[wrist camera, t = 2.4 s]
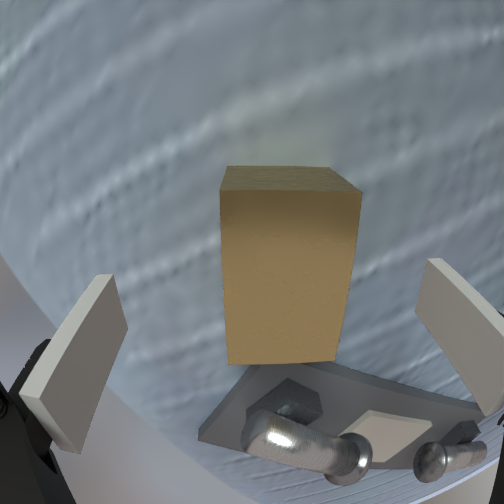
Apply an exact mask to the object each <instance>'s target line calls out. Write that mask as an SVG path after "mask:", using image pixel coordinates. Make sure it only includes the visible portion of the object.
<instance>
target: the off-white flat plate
mask: <svg viewBox="0 0 504 504" xmlns="http://www.w3.org/2000/svg"><path fill="white" fill-rule="evenodd" d="M431 426H433V425H432V423H431V421H427V420H421V419H415V418H409V417H403V416H398V415H392V414H387V413H382V412H377V411H372V410H368V411H367V412H366V413H364V414H363V415H362V416H361V417H360V418H359V419H357V420H356V421H355V422H354V423H353V424H351V425H350V426H349V427H348V428H347V429H345V430H344V431H343V432H342V433H340V434H339V435H338V436H340V435H342V434H344V433H349V432H353V433H357V434H360V435H363V436H365V437H366V438H367V439H368V440H369V442H370V443H371V446H372V450H373V457H372V462H385V461H387V460H388V459H390V458H391V457H392V456H394V455H395V454H397V453H398V452H399V451H401V450H402V449H403V448H405V447H406V446H407V445H409V444H410V443H411V442H413V441H414V440H415V439H417V438H418V437H419V436H420V435H422V434H423V433H424V432H425V431H427V430H428V429H429V428H430V427H431ZM338 436H337V437H338Z"/></svg>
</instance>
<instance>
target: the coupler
mask: <svg viewBox="0 0 504 504" xmlns="http://www.w3.org/2000/svg"><path fill="white" fill-rule="evenodd" d="M361 200H362V192H361V191H360V190H358V189H357V188H356V187H355V186H353V185H352V184H351V183H349V182H348V181H347V180H345V179H344V178H343V177H341V176H340V175H339V174H337V173H336V172H335V171H333V170H332V169H331V168H329V167H306V166H227V168H226V172H225V175H224V178H223V181H222V184H221V187H220V219H221V246H222V268H223V289H224V308H225V326H226V342H227V358H228V365H247V364H287V363H307V362H323V361H335V356H336V352H337V347H338V343H339V338H340V333H341V329H342V324H343V319H344V313H345V308H346V303H347V297H348V292H349V286H350V280H351V274H352V268H353V262H354V255H355V248H356V241H357V234H358V226H359V218H360V209H361Z"/></svg>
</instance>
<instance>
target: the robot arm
mask: <svg viewBox="0 0 504 504" xmlns="http://www.w3.org/2000/svg"><path fill="white" fill-rule="evenodd" d="M415 313H416V314H417V316H418V317H419V318H420V320H421V321H422V322H423V324H424V325H425V326H426V328H427V329H428V331H429V332H430V333H431V335H432V336H433V338H434V339H435V340H436V342H437V343H438V345H439V346H440V348H441V349H442V350H443V352H444V353H445V355H446V356H447V358H448V359H449V361H450V362H451V364H452V365H453V367H454V368H455V370H456V371H457V373H458V374H459V376H460V377H461V379H462V380H463V382H464V383H465V385H466V386H467V388H468V390H469V391H470V393H471V394H472V396H473V397H474V399H475V401H476V402H477V404H478V406H479V407H480V409H481V411H482V412H483V414H484V416H487V415H489V414H492V413H494V412H496V411H498V410H500V408H501V407H502V405H503V404H504V315H503V314H502V313H500V312H499V311H497V310H495V309H494V308H493V307H492V306H491V305H490V304H489V303H488V302H487V301H486V300H485V299H484V298H483V297H482V296H481V295H480V294H479V293H478V292H477V291H476V290H475V289H474V288H473V287H472V286H471V285H470V284H469V283H468V282H467V281H466V280H465V279H463V278H462V277H461V276H460V275H459V274H458V273H457V272H456V271H455V270H454V269H453V268H451V267H450V266H449V265H448V264H447V263H446V262H445V261H444V260H442V259H441V258H433V259H427V263H426V267H425V272H424V276H423V281H422V285H421V289H420V293H419V297H418V301H417V305H416V309H415ZM127 330H128V326H127V323H126V320H125V316H124V313H123V309H122V306H121V302H120V299H119V295H118V291H117V287H116V283H115V279H114V275H113V274H103V275H96V277H95V278H94V279H93V281H92V282H91V283H90V285H89V286H88V287H87V289H86V290H85V292H84V293H83V294H82V296H81V297H80V299H79V300H78V301H77V303H76V304H75V306H74V307H73V308H72V310H71V311H70V313H69V314H68V316H67V317H66V319H65V320H64V321H63V323H62V324H61V326H60V327H59V329H58V330H57V332H56V334H55V335H54V337H53V338H52V339H46V340H45V341H43V342H42V343H41V344H40V345H39V346H38V347H36V349H35V350H34V352H33V354H32V355H31V357H30V359H29V360H28V361H27V363H26V364H25V368H23V369H22V371H21V372H20V374H19V376H18V377H17V379H16V380H15V382H14V384H13V385H12V387H11V389H10V391H9V392H8V393H7V391H6V390H5V388H4V386H3V385H2V383H1V382H0V504H76V502H75V500H74V498H73V496H72V494H71V492H70V490H69V488H68V486H67V483H66V481H65V479H64V477H63V475H62V473H61V470H60V468H59V465H58V463H57V461H56V458H55V456H54V454H53V452H52V450H51V449H50V445H51V442H52V440H53V441H54V442H55V443H56V445H57V446H58V447H59V448H60V449H61V450H64V451H68V452H72V453H77V454H81V450H82V448H83V444H84V441H85V438H86V436H87V433H88V430H89V427H90V424H91V421H92V419H93V416H94V413H95V410H96V408H97V405H98V402H99V399H100V397H101V394H102V392H103V389H104V386H105V384H106V381H107V379H108V376H109V374H110V371H111V369H112V366H113V364H114V361H115V359H116V356H117V354H118V351H119V349H120V347H121V344H122V342H123V340H124V337H125V335H126V333H127ZM503 420H504V414H503V415H502V417H501V418H500V419H499V421H498V423H497V425H500V424H501V422H502V421H503ZM503 427H504V425H503ZM489 504H504V436H503V442H502V449H501V454H500V459H499V464H498V469H497V474H496V478H495V482H494V487H493V490H492V495H491V498H490V501H489Z"/></svg>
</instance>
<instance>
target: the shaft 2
mask: <svg viewBox="0 0 504 504" xmlns="http://www.w3.org/2000/svg"><path fill="white" fill-rule="evenodd" d="M480 433H481V432H480V430H479V428H478V426H477V424H476V423H475V421H474V420H470V421H461V422H459V423H458V424H457V425H456V426H455V427H454V428H453V429H452V430H451V431H450V432H448V433H447V434H446V435H445V436H444V437H443V438H442V439H441V440H440V441H439V442H435V441H434V442H427V443H425V444H423V445H422V446H421V447H420V448H419V449H418V451H417V452H416V454H415V457H414V461H413V471H414V474H415V476H416V478H417V479H418V480H419V481H420V482H423V483H429V482H433V481H436V480H438V479H439V478H440V477H441V476H442V475H443V473H446V472H450V471H454V470H458V469H462V468H466V467H470V466H473V465H477V464H479V463H481V462H482V461H483V460H484V459H485V457H486V454H487V446H486V444H485V443H484V442H483V441H474V442H471V441H472V440H473V439H474V438H476V437H477V436H478V435H479V434H480Z"/></svg>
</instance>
